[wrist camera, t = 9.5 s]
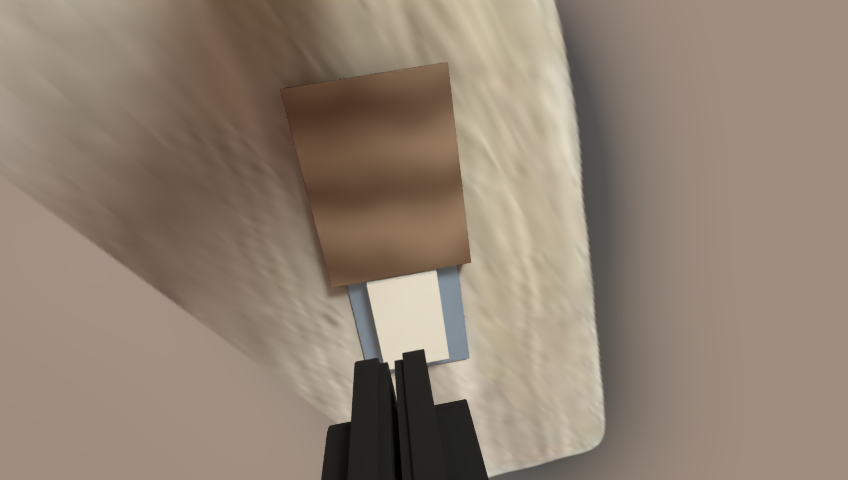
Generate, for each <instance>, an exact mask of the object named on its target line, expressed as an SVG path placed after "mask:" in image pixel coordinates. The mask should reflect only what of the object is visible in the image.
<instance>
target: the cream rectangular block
mask: <svg viewBox="0 0 848 480" xmlns="http://www.w3.org/2000/svg"><path fill="white" fill-rule="evenodd" d="M367 289H368V294H369V298H370V303H371V307H372V312H373V316H374V321H375V325H376V330H377V335H378V339H379V344H380V348H381V353H382V357H383V362H384V363H385V362H388V365H389V369H395V364H394V361H395V360H401V359H403V358H402V353H404V352H410V351H415V350H420V349H424V351H425V357H426V362H427V363H428V362H433V361H439V360H444V359H449V353H448V346H447V339H446V333H445V326H444V319H443V312H442V305H441V299H440V292H439V285H438V278H437V272H436V269H433V270H427V271H422V272H416V273H411V274H405V275H400V276H394V277H389V278H383V279H378V280H372V281H367Z"/></svg>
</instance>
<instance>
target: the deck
mask: <svg viewBox="0 0 848 480" xmlns="http://www.w3.org/2000/svg"><path fill="white" fill-rule="evenodd" d="M280 91H281V95H282V99H283V103H284V107H285V110H286V114H287V118H288V122H289V126H290V130H291V133H292V137H293V141H294V145H295V149H296V153H297V156H298V160H299V164H300V168H301V172H302V176H303V179H304V183H305V187H306V191H307V195H308V199H309V202H310V206H311V210H312V214H313V218H314V222H315V225H316V229H317V233H318V237H319V241H320V244H321V248H322V252H323V256H324V260H325V264H326V267H327V271H328V275H329V279H330V283H331V287H332V288H333V287H339V286H344V285H350V284H355V283H361V282H366V281H372V280H378V279H383V278H389V277H394V276H400V275H405V274H411V273H416V272H422V271H427V270H433V269H438V268H444V267H449V266H455V265H460V264H466V263H471V258H470V249H469V240H468V232H467V223H466V215H465V206H464V198H463V189H462V180H461V172H460V163H459V155H458V146H457V137H456V129H455V120H454V112H453V103H452V94H451V86H450V77H449V69H448V63H439V64H433V65H427V66H420V67H414V68H408V69H402V70H395V71H389V72H383V73H377V74H370V75H364V76H358V77H352V78H345V79H339V80H333V81H327V82H320V83H314V84H308V85H302V86H295V87H289V88H284V89H280Z"/></svg>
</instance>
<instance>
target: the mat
mask: <svg viewBox="0 0 848 480" xmlns="http://www.w3.org/2000/svg"><path fill="white" fill-rule="evenodd" d="M436 272H437V278H438V285H439V292H440V299H441V305H442V312H443V319H444V326H445V333H446V339H447V346H448V353H449V359H444V360H439V361H433V362H428V363H427V366H431V365H436V364H441V363H447V362H452V361H457V360H462V359H468V358H469V351H468V344H467V336H466V328H465V321H464V313H463V305H462V298H461V290H460V282H459V275H458V267H457V265H455V266H449V267H444V268H438V269H436ZM347 287H348V292H349V296H350V300H351V304H352V308H353V312H354V316H355V320H356V324H357V328H358V332H359V336H360V341H361V345H362V349H363V353H364V357H365V360H367V359H373V358H378V359H379V362H380V363H384V362H383V357H382V353H381V348H380V344H379V339H378V335H377V330H376V325H375V321H374V316H373V312H372V307H371V303H370V298H369V294H368V289H367V281H366V282H361V283H355V284H350V285H347ZM394 372H395V369H390V373H394Z"/></svg>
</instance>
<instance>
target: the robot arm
mask: <svg viewBox="0 0 848 480" xmlns="http://www.w3.org/2000/svg"><path fill="white" fill-rule="evenodd" d="M402 358H403V359H401V360H395V361H394V364H395V379H396V393H397V400H396V396H395V391H394V387H393V382H392V378H391V373H390V369H389V365H388V362H385V363H380V362H379V359H378V358H373V359H367V360H362V361H357V362H355V367H354V383H353V399H352V415H351V422H346V423H341V424H336V425H331V426H329V428H328V432H327V438H326V446H325V454H324V462H323V470H322V478H321V480H489V479H488V476H487V472H486V468H485V465H484V461H483V457H482V454H481V450H480V447H479V443H478V439H477V436H476V432H475V428H474V425H473V421H472V417H471V414H470V410H469V406H468V403H467V400H466V399H464V400H459V401H454V402H449V403H444V404H439V405H434V401H433V396H432V390H431V384H430V379H429V373H428V368H427V362H426V357H425V351H424V349H420V350H415V351H410V352H404V353H402Z"/></svg>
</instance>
